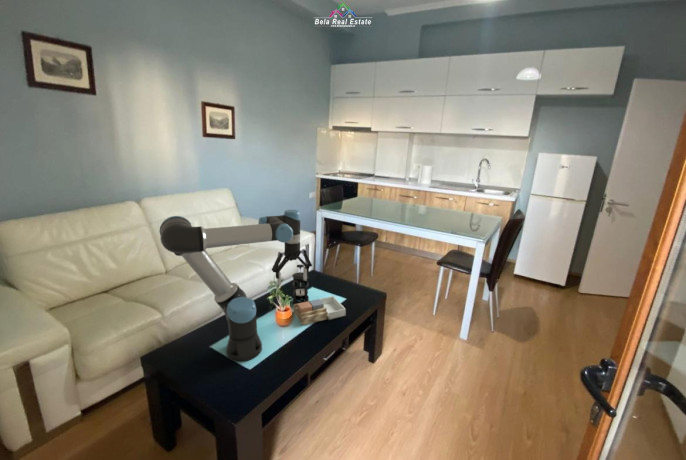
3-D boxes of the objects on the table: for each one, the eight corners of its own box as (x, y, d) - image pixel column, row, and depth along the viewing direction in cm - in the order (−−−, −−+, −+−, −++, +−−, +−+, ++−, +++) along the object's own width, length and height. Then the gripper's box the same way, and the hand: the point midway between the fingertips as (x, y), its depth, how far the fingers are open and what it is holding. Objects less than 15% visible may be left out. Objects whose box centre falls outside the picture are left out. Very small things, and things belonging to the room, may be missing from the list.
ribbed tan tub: (302, 325, 162) (302, 315, 160) (293, 312, 174) (293, 303, 172) (327, 319, 168) (327, 309, 166) (317, 306, 180) (317, 297, 178)
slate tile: (313, 311, 167) (313, 306, 166) (309, 306, 172) (309, 301, 172) (323, 308, 170) (323, 303, 169) (319, 303, 175) (319, 298, 174)
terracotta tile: (301, 314, 164) (301, 308, 164) (297, 308, 170) (297, 303, 169) (312, 311, 167) (312, 306, 166) (308, 306, 172) (308, 301, 171)
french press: (313, 302, 184) (313, 265, 178) (300, 308, 177) (300, 270, 171) (299, 295, 192) (298, 260, 185) (287, 301, 185) (286, 264, 178)
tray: (328, 319, 167) (328, 313, 166) (317, 305, 181) (317, 299, 180) (345, 315, 172) (346, 309, 170) (333, 302, 185) (333, 296, 184)
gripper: (269, 247, 146) (270, 289, 151) (319, 241, 158) (318, 280, 163) (264, 242, 152) (265, 283, 158) (312, 237, 164) (312, 275, 169)
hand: (292, 282), depth 160 cm, fingers open, 13 cm apart
